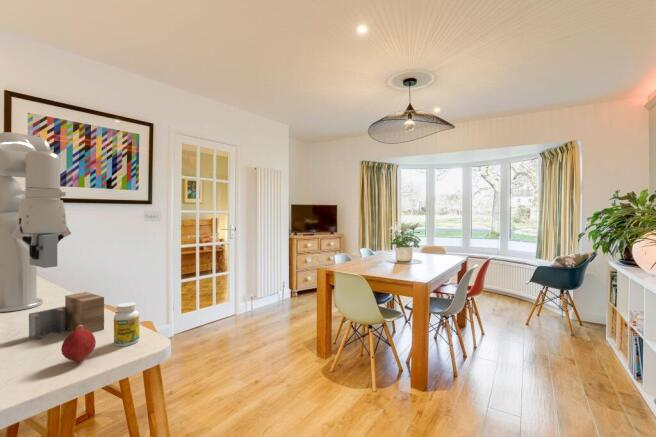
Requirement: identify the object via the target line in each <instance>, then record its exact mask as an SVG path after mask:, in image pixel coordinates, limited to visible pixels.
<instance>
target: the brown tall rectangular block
mask: <svg viewBox="0 0 656 437" xmlns="http://www.w3.org/2000/svg"><path fill="white" fill-rule="evenodd" d="M64 296H65V299H64V301H65V303H64V304H65V307H67V329H66V330H69V331H71V332H72V331H74V330H75V329H76V328H77V327H78V326H79V325H83V329H85V330H87V331H89V332H91V333H92V334H94V333H96V332H100V331H103V330H105V296H102V295H100V294H99V295H98V294H94V293H92V292H87V291H85V292H79V293H74V294H73V293H72V294H68V295H64Z"/></svg>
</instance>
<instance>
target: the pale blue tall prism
mask: <svg viewBox="0 0 656 437" xmlns="http://www.w3.org/2000/svg"><path fill="white" fill-rule="evenodd" d="M37 245H38V246H37V247H36V249H37V250H39V259H37V260H35V259H32V258H31V257H30V264H31V265H35V266H36V267H39V268H43V269H46V268H55V267H58V244H57V235H52V234H38V236H37Z"/></svg>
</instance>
